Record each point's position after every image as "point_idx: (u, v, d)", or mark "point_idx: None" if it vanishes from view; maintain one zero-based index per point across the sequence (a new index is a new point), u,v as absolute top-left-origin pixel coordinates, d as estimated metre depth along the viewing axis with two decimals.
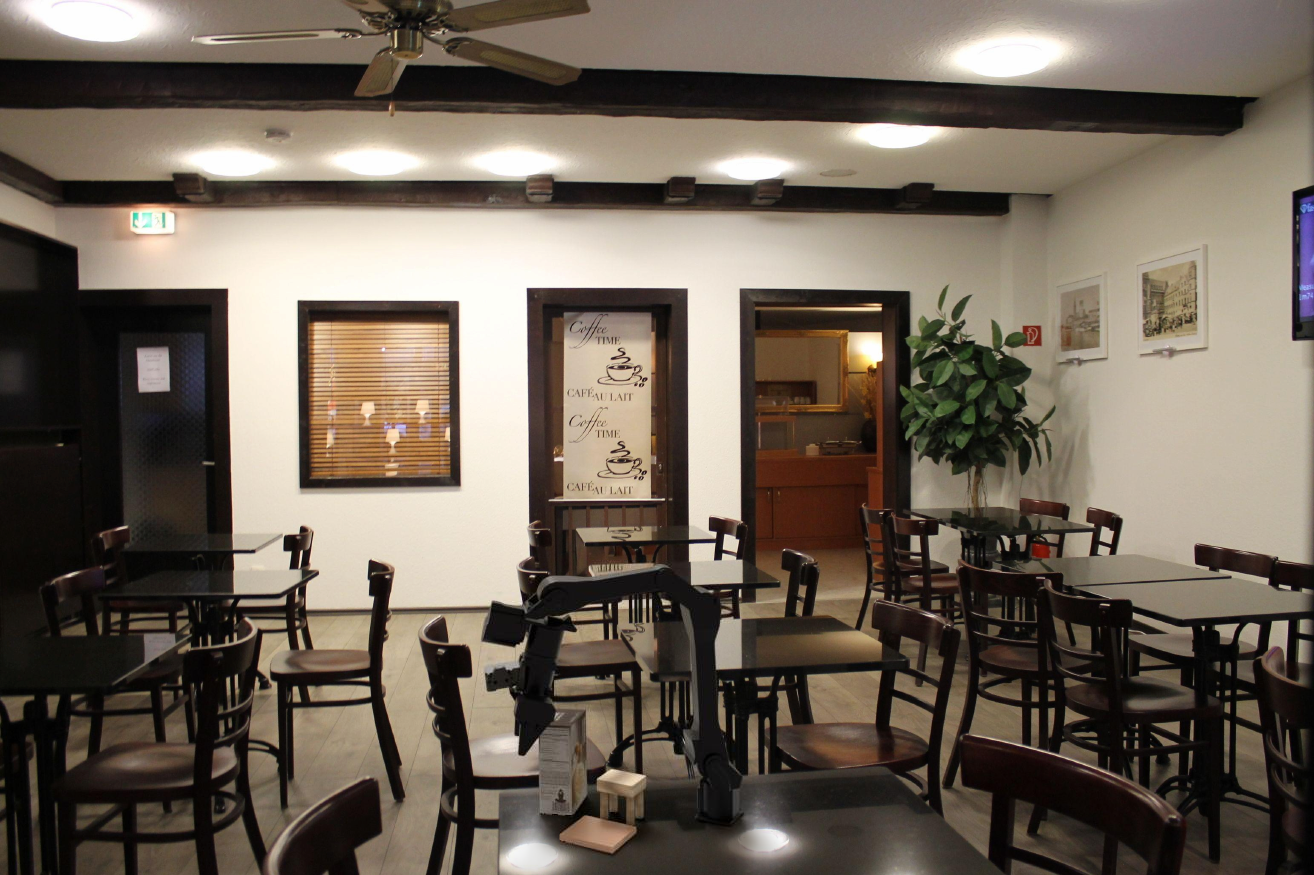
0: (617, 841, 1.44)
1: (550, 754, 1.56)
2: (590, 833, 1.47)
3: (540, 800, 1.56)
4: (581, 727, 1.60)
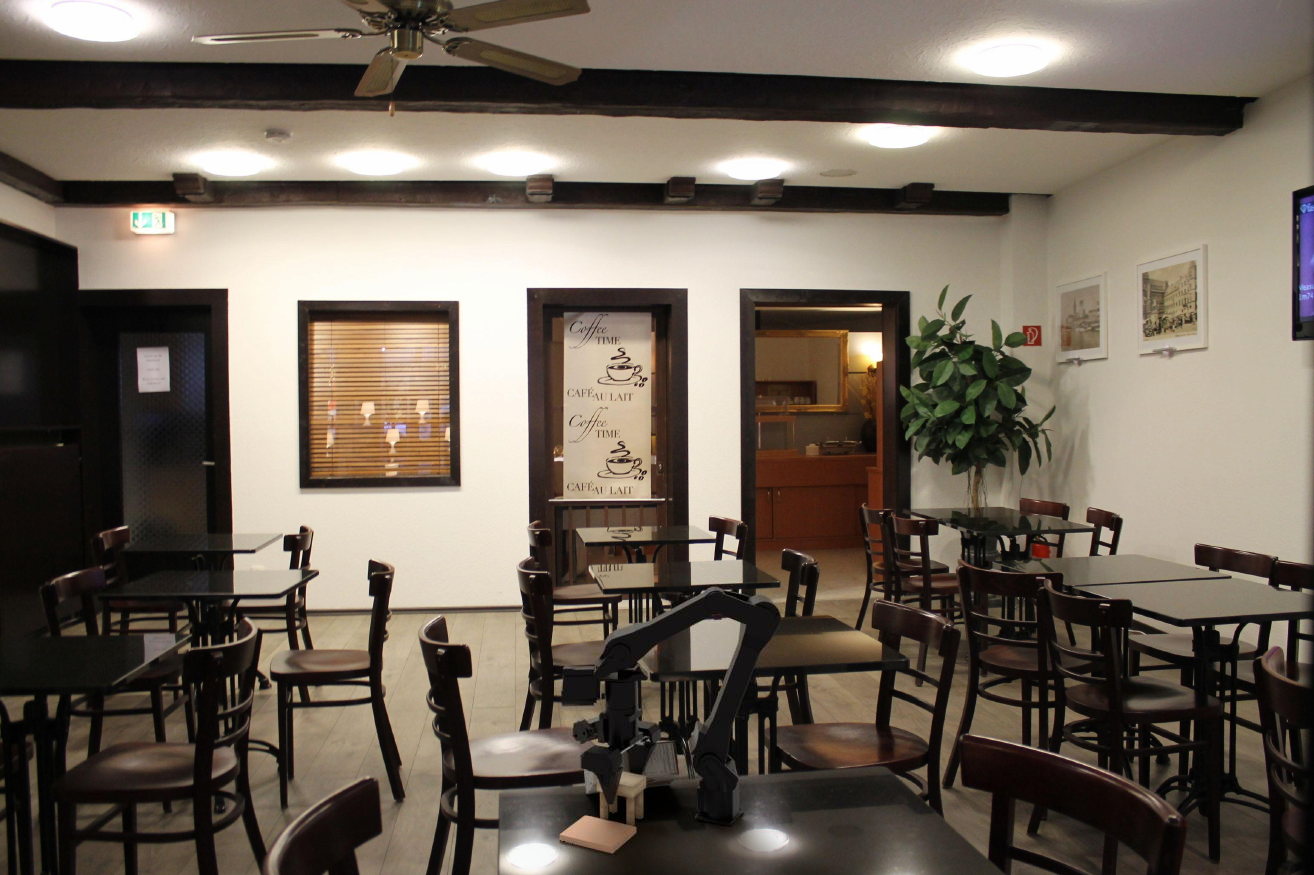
0: (617, 841, 1.44)
1: None
2: (590, 833, 1.47)
3: None
4: (662, 783, 1.65)
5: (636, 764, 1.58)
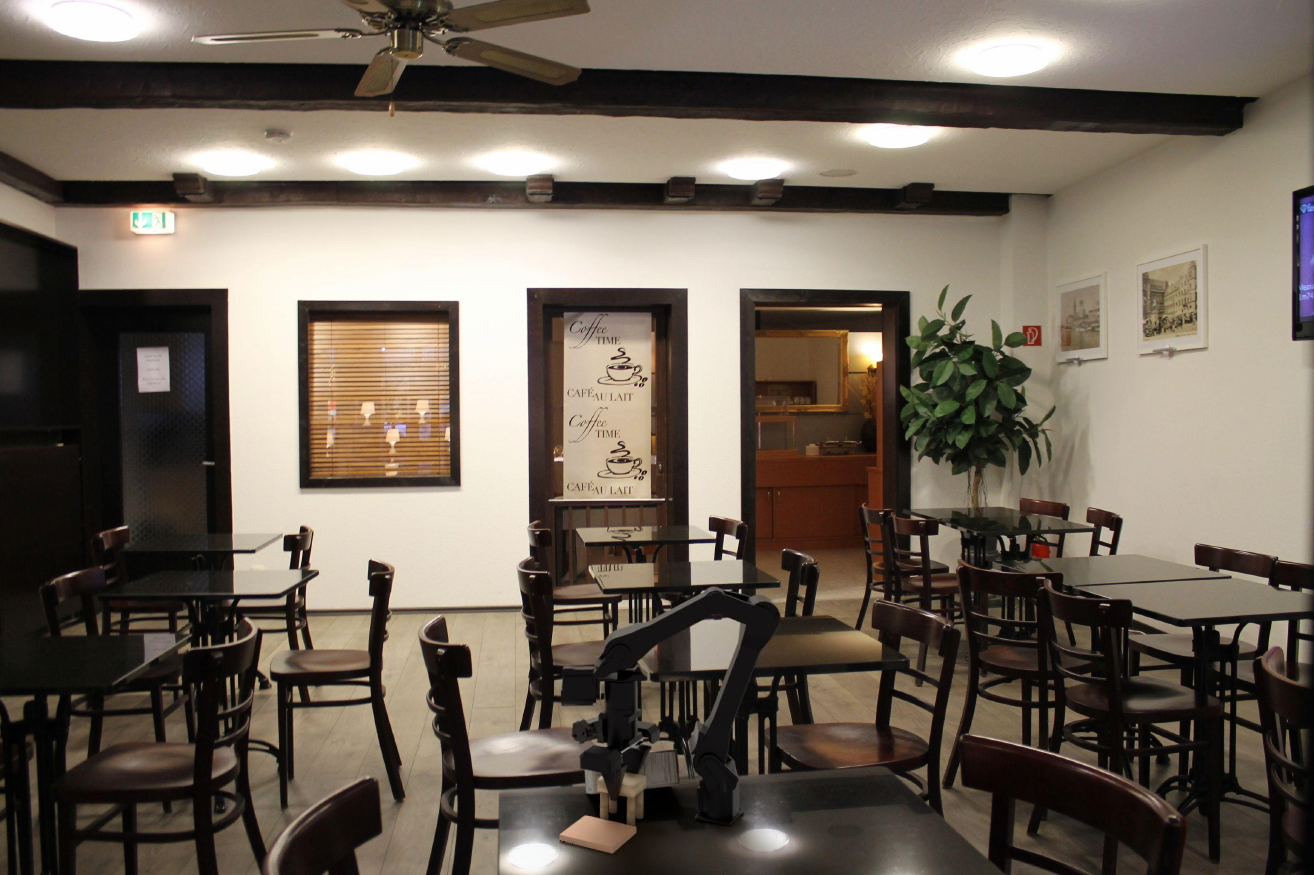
0: (617, 841, 1.44)
1: (649, 765, 1.61)
2: (590, 833, 1.47)
3: None
4: None
5: (630, 768, 1.57)
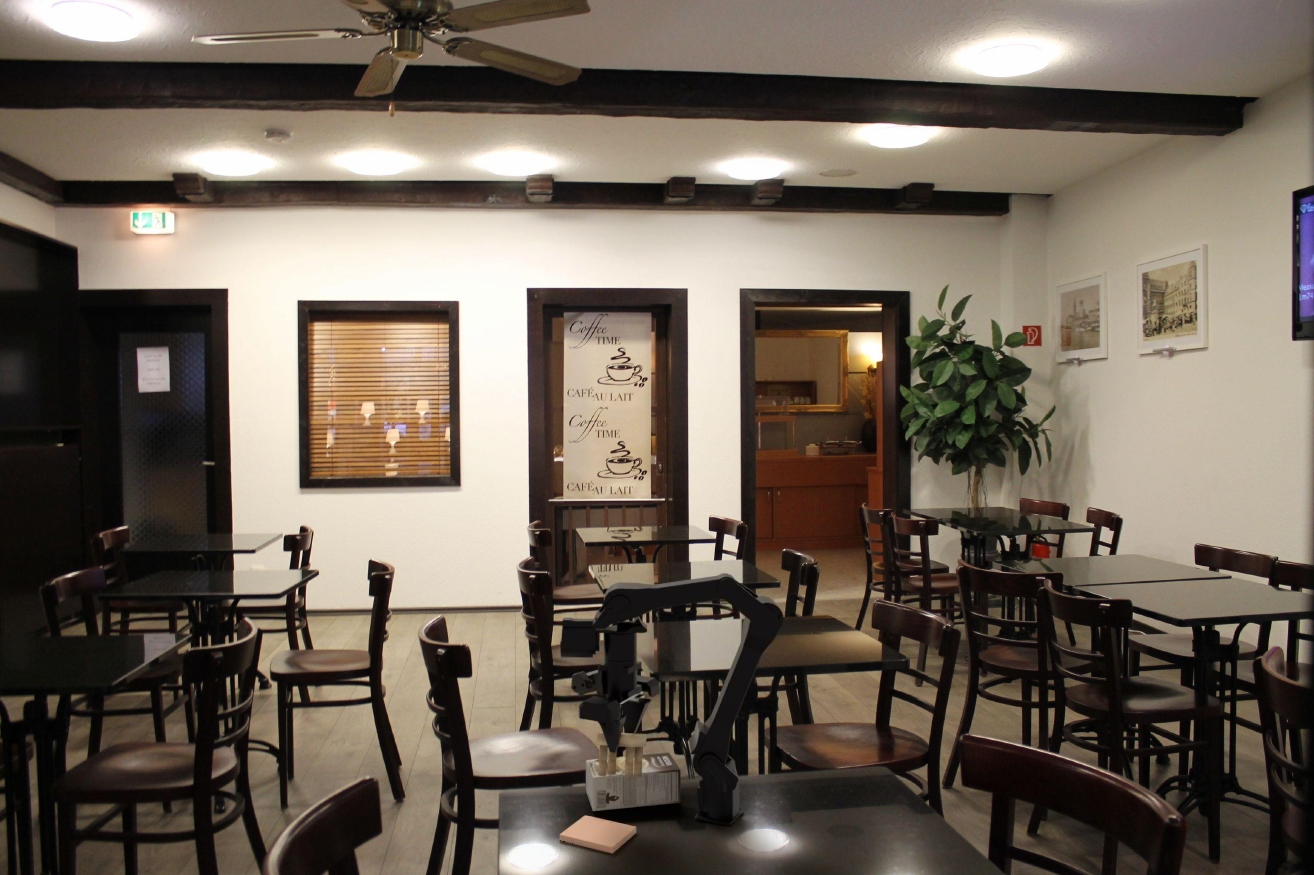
0: (617, 841, 1.44)
1: (651, 784, 1.59)
2: (590, 833, 1.47)
3: (606, 777, 1.57)
4: None
5: (630, 720, 1.57)
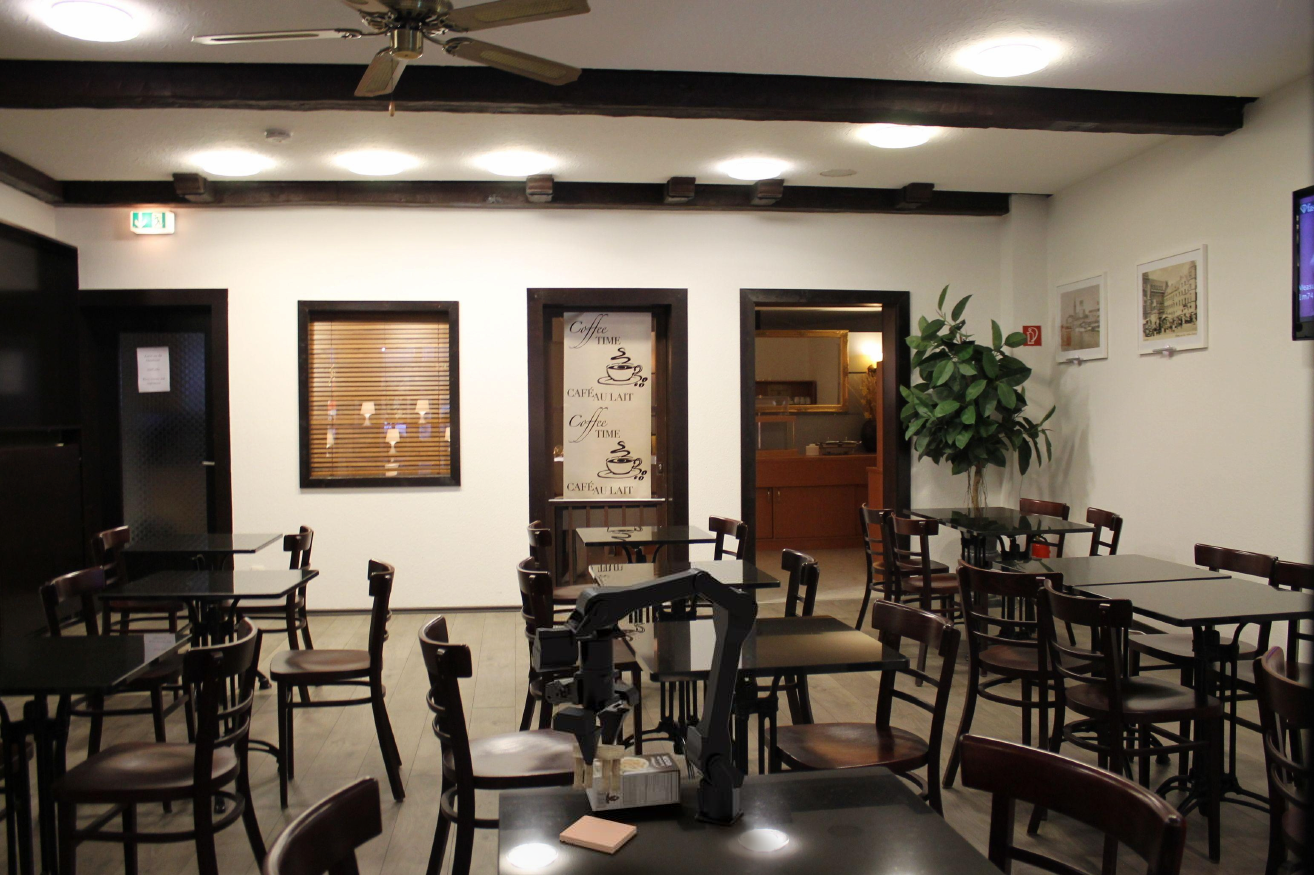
0: (617, 841, 1.44)
1: (651, 784, 1.59)
2: (590, 833, 1.47)
3: None
4: None
5: (608, 731, 1.50)
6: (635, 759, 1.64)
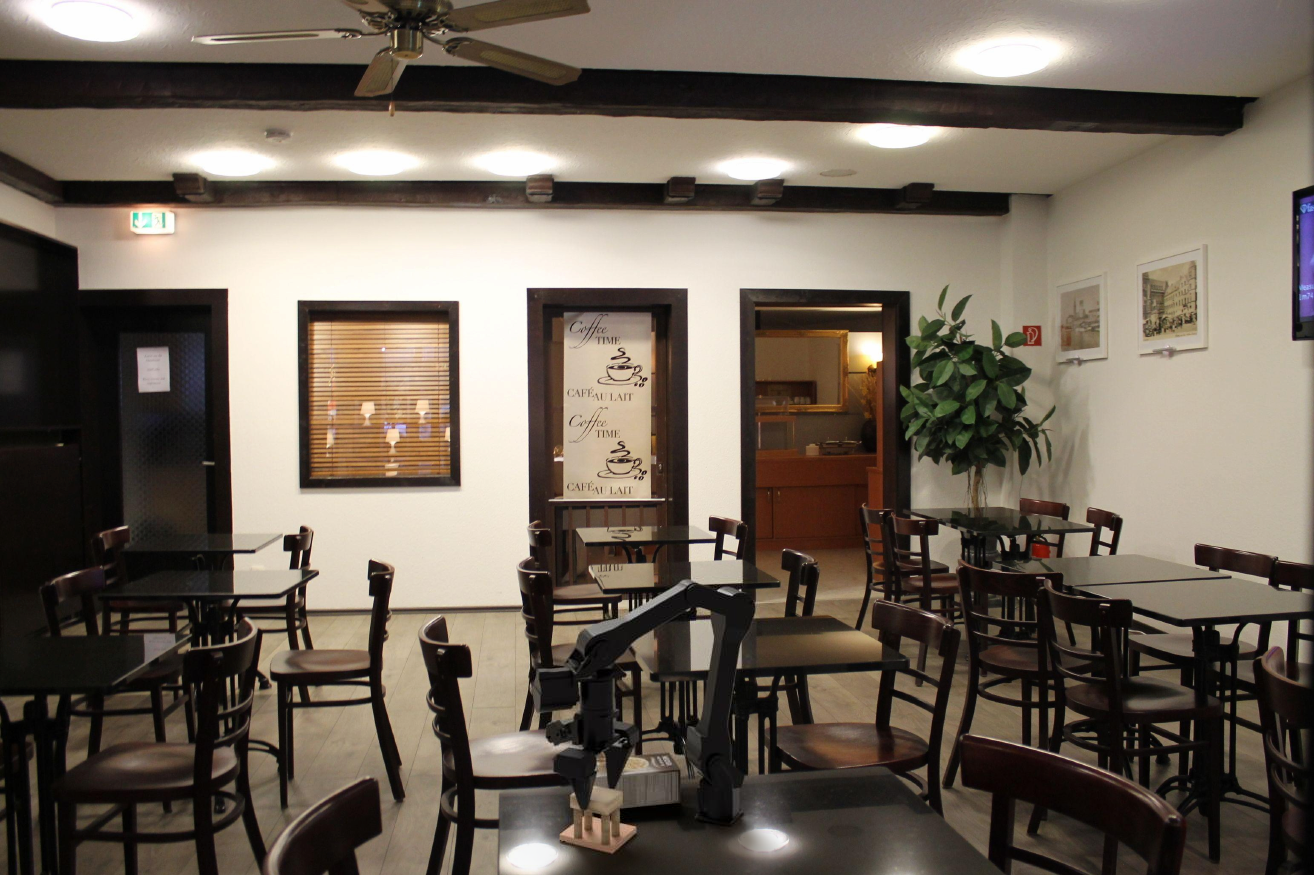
0: (617, 841, 1.44)
1: (651, 784, 1.59)
2: (590, 833, 1.47)
3: (606, 777, 1.57)
4: None
5: (613, 767, 1.51)
6: (635, 759, 1.64)
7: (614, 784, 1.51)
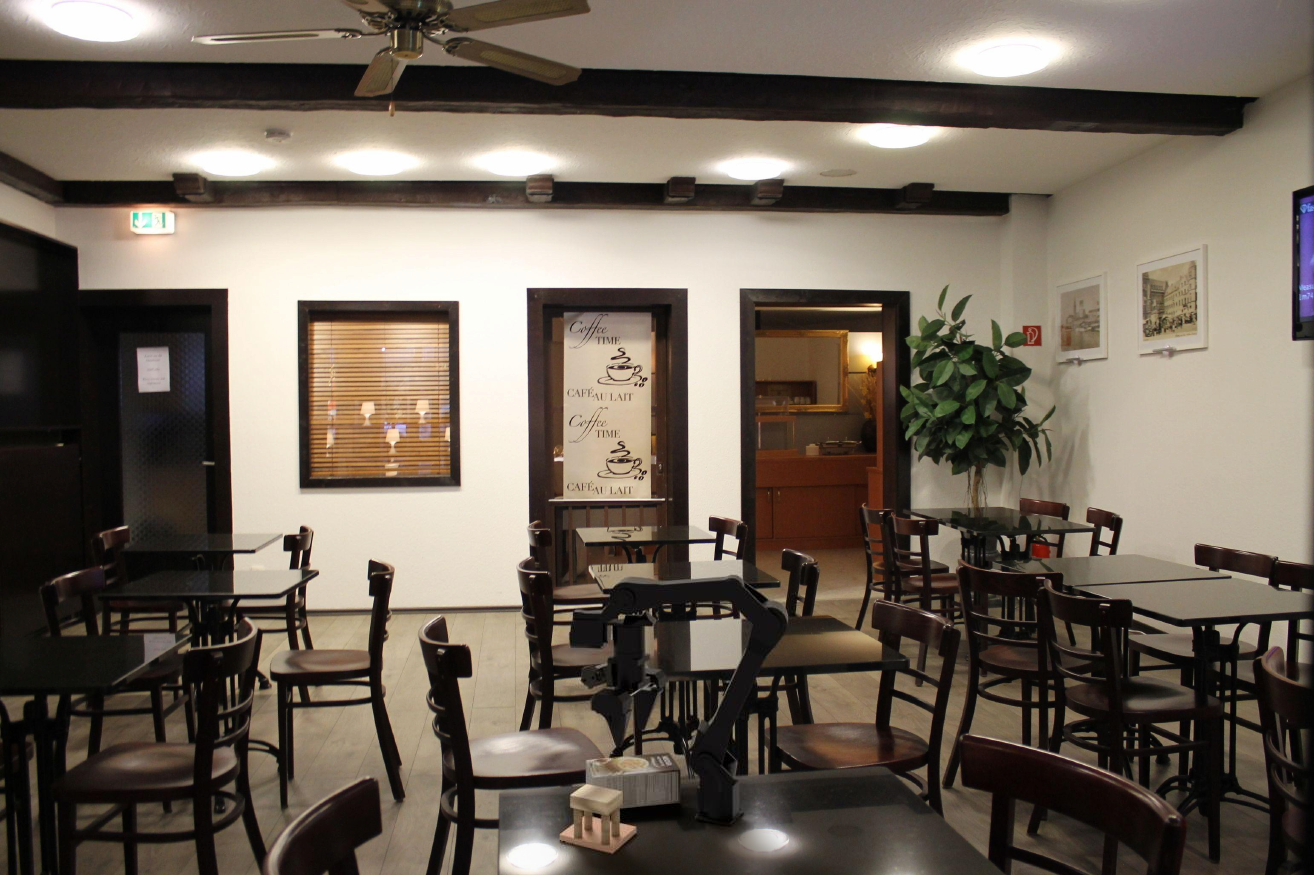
0: (617, 841, 1.44)
1: (651, 784, 1.59)
2: (590, 833, 1.47)
3: (606, 777, 1.57)
4: None
5: (643, 709, 1.61)
6: (635, 759, 1.64)
7: (644, 725, 1.61)
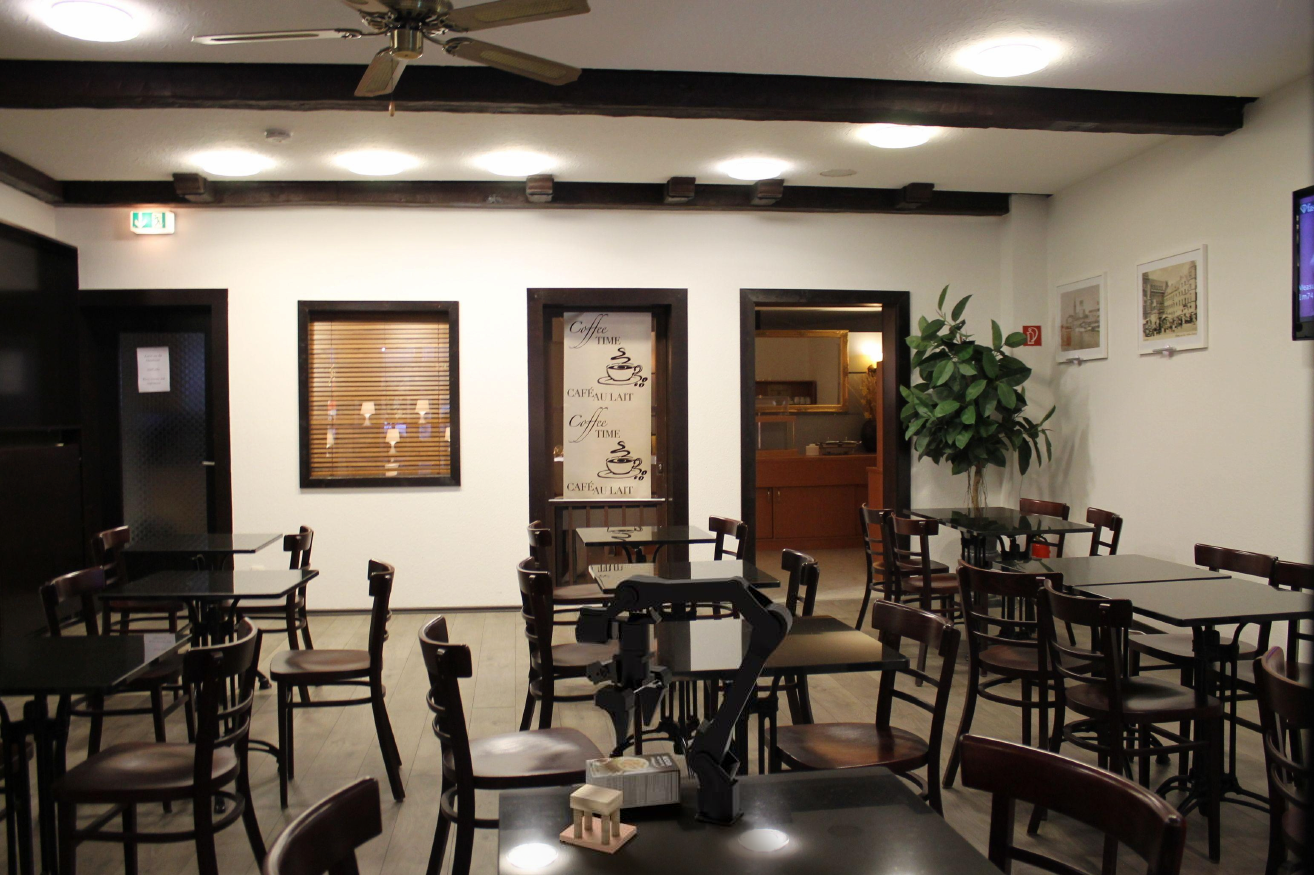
0: (617, 841, 1.44)
1: (651, 784, 1.59)
2: (590, 833, 1.47)
3: (606, 777, 1.57)
4: None
5: (648, 705, 1.63)
6: (635, 759, 1.64)
7: (649, 722, 1.63)
